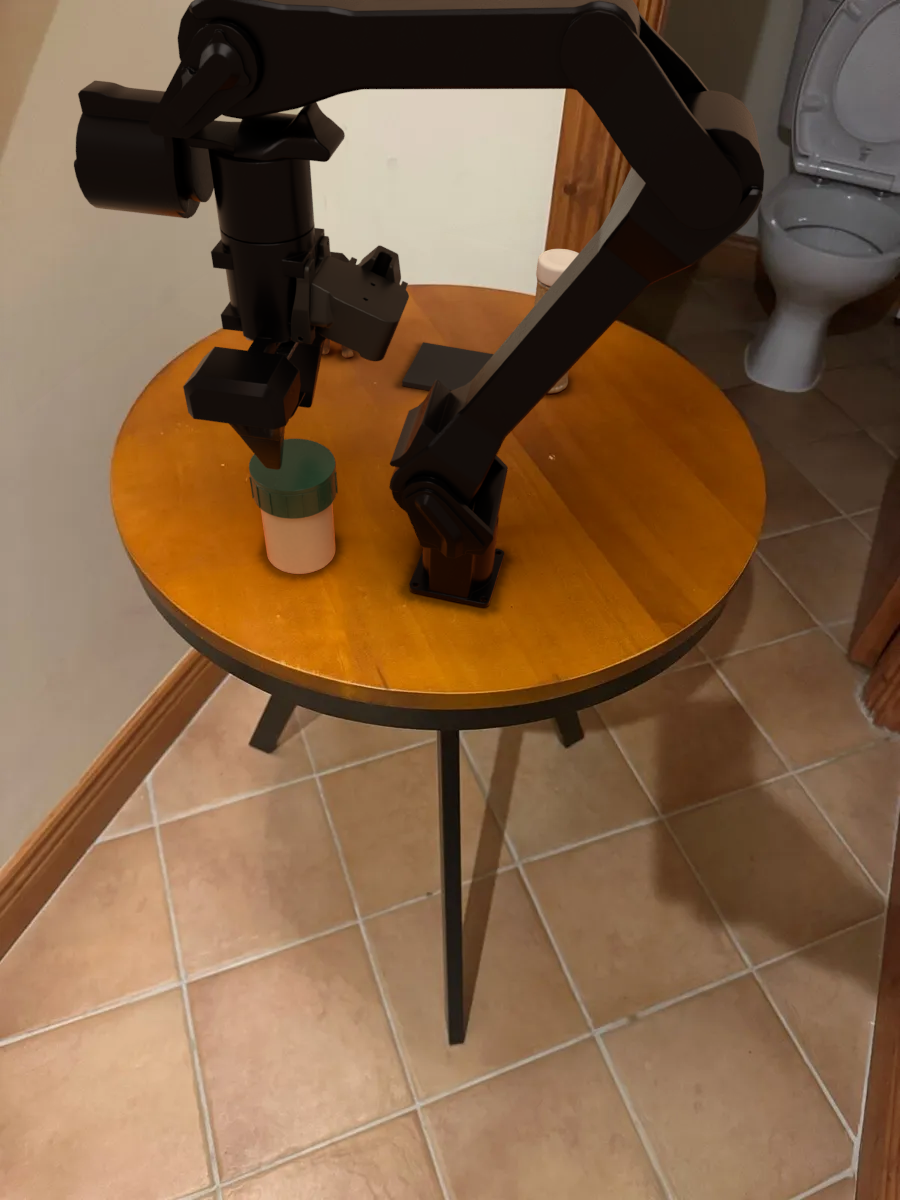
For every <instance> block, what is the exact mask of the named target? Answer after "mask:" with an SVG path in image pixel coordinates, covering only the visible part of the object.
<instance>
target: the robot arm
mask: <svg viewBox="0 0 900 1200" xmlns="http://www.w3.org/2000/svg"><path fill="white" fill-rule="evenodd" d="M179 22H180V23H179V27H178V32H177V33H178V34H177V48H178V57H179V61H180V62H179V65H178V66H177V68H176V70H175V72H174V74H173V76H172V77H171V80H170V82H169V84H168V85H167V87H166V90H164V91H163V90H156V89H155V90H153V89H144V88H134V87H128V86H124V85H122V84H119V83H116V82H112V81H104V80H93V81H92V82H91V83H89V84H88V85H86V86H85V87H83V88H82V89H80V90H79V91H78V93H77V96H78V100H79V105H80V109H81V115H80V117H79V121H78V124H77V129H76V134H75V135H76V136H75V156H76V157H75V159H74V161H73V169H74V173H75V177H76V181H77V184H78V187H79V189H80V191H81V193H82V195H83V197H84V198H85V200H86V201H87V202H88V203H89V205H90V206H93V207H94V208H96V209H102V210H110V211H118V212H119V211H120V212H127V213H135V214H136V213H138V214H146V215H153V216H154V215H155V216H161V217H170V218H179V219H190V218H192V217H194V215H195V214H196V213H197V211H198V209H199V207H200V205H201V203H207V202H208V201H210V199H211V197H212V195H213V192H214V200H215V206H216V212H217V219H218V227H219V233H220V240H219V241H218V242H217V244H216V245H215V246H214V247H213V248H212V250H211V251H210V255H211V262H212V267H213V269H221V270H225V274H226V282H227V287H228V294H229V295H228V296H229V302H228V304H227V305H226V306H225V308H224V309H223V311H222V312H221V313H220V320H221V326H222V330H227V331H234V332H235V331H236V332H241V333H242V336H243V337H244V338H245V340H246V341H249V342H251V344H250V346H249V347H248V349H247V350H245V349H237V348H231V347H222V346H214V347H213V348H212V349H211V350H209V352H208V353H207V354H205V355H204V356H203V357H202V359H201V360H200V362H199V363H198V364H197V365H196V367H195V368H194V370H193V372H192V373H191V374H190V376H189V378H188V379H187V380H186V381H185V382H184V384H183V386H182V389H183V393H184V398H185V403H186V408H187V413H188V414H189V415H190V416H191V418H192V419H193V420H200V421H207V422H213V423H214V422H215V423H222V424H228V425H229V426H230V427H231V428H232V429H233V430H234V431H235V433H236V434H237V435H238V436H239V437H240V438H241V439H242V441H243V442H244V444H245V445H246V446H247V447H248V449H250V450H251V452H252V453H253V455H254V454H255V455H256V457H257V458H258V459H259V460H260V461H261V463H262V464H263V465H264V466H265V467H266V468H269V469H276V470H279V469H280V468H281V466H282V458H283V448H284V439H285V430H286V426H287V425H288V423H289V421H290V419H292V418H293V417H294V416H295V414H296V412H297V410H298V409H299V407H300V408H306V409H310V408H312V405H313V404H314V398H315V392H316V387H317V383H318V377H319V373H320V367H321V362H322V357H323V354H322V352H323V347H324V343H325V339H326V338H327V339H329V340H330V342H334V343H336V344H337V345H340V346H341V347H342V346H345V347H347V348H349V349H351V350H352V351H354V352H356V353H358V355H359V356H360V358H363V359H365V360H367V361H370V362H380V361H383V360H384V358H385V357H386V354H387V353H388V350H389V348H390V345H391V343H392V340H393V337H394V336H395V333H396V331H397V328H398V325H399V323H400V320H401V319H402V316H403V313H404V311H405V308H406V306H407V303H408V301H409V298H410V295H409V292H408V290H407V288H408V286H409V283H408V282H406V281H404V280H402V273H401V265H400V256H399V254H398V252H396V251H393V250H391V249H390V248H387V247H385V246H383V245H377V246H376V247H375V248H374V249H372V250H371V251H369V252H368V253H367V254H366V255H365V256H364V257H363V258H362V259H361V261H359V263H357V262H358V258H355V257H353V256H351V257H350V259H349V258H348V257H347V256H346V255H345V254H344V253H343V252H338V251H331V244H330V243H331V242H330V237H329V236H328V235H326V233H325V228H321V227H319V228H318V227H315V214H314V213H315V212H314V199H313V186H312V185H313V184H312V183H313V182H312V171H311V162H319V163H320V162H321V163H326V162H329V160H330V159H331V158H332V157H333V155H334V153H335V152H336V151H337V149H338V148H339V147H340V145H341V144H342V142H343V141H344V139H345V138H346V137H345V136H346V135H345V132H344V131H345V130H343V128H341V126H339V125H338V124H337V123H336V122H334V120H333V119H332V118H330V117H328V115H326V114H325V113H324V111H322V109H321V108H320V106H319V104H318V102H321V101H324V100H327V99H330V98H332V97H336V96H339V95H342V94H347V93H352V92H357V91H361V90H574V91H577V93H578V94H579V95H580V96H581V97H582V98H583V99H584V101H585V102H586V103H587V104H588V105H589V106H590V107H591V109H592V110H593V112H594V113H595V114H596V116H597V117H598V119H599V121H600V122H601V124H602V125H603V127H604V128H605V130H606V131H607V133H608V134H609V136H610V137H611V139H612V140H613V142H614V143H615V145H616V146H617V148H618V150H619V151H620V152H621V154H622V156H623V157H624V158H625V160H626V161H627V163H628V164H629V165H630V167H631V168H630V170H629V172H628V174H627V175H626V178H625V180H624V182H623V184H622V186H621V188H620V190H619V192H618V194H617V196H616V198H615V200H614V202H613V204H612V206H611V208H610V210H609V212H608V215H606V218H605V220H604V222H603V224H602V225H601V226H600V228H599V229H598V230H597V231H596V232H595V234H594V235H593V236H592V238H591V239H589V241H588V242H587V243H586V245H585V246H583V248H581V250H580V252H578V253H579V254H578V255H577V256H576V258H575V259H574V260H573V261H572V262H571V264H570V265H569V266H568V267H567V268H566V269H565V271H564V272H563V273H562V274H561V275H560V277H559V278H558V279H557V280H556V281H555V282H554V284H553V285H552V286H551V287H550V288H549V290H548V291H547V292H546V293H545V294H544V296H543V297H542V298H541V299H540V300H539V301H538V303H537V304H536V305H535V306H534V305H533V307H532V308H531V309H530V311H528V313H527V314H526V315H525V317H523V319H522V320H521V321H520V322H519V323H518V324H517V326H516V327H515V328H514V329H513V331H512V332H511V333H510V335H508V336H507V338H506V339H505V341H504V342H502V343H501V345H500V346H499V348H498V349H497V350H496V351H495V352H494V353H493V354H494V355H493V356H492V357H491V358H490V359H489V361H488V362H487V363H486V364H485V365H484V366H483V368H482V369H481V370H480V371H479V372H478V374H477V375H476V376H475V377H474V378H473V379H472V380H471V381H470V382H469V383H468V384H466V385H465V386H462V387H460V388H457V389H455V390H453V391H449V390H448V389H447V388H446V387H445V386H444V385H443V384H442V383H441V382H440V381H439V380H435V382H434V384H433V385H432V387H431V389H430V391H428V393H427V394H426V397H425V398H424V400H423V401H422V402H421V403H419V404H418V405H417V406H416V407H415V406H414V408H411V409H409V410H408V411H407V415H406V417H405V420H404V423H403V425H402V429H401V430H400V433H399V436H398V440H397V442H396V445H395V448H394V450H393V453H392V456H391V459H390V461H389V465H390V467H394V469H393V472H392V476H391V478H390V480H389V486H388V487H389V488H388V489H389V490H390V492H391V495H392V498H393V500H394V501H395V502H396V504H397V505H398V508H400V509H401V510H403V511H404V512H405V513H406V514H407V517H408V519H409V521H410V524H411V526H412V529H413V531H414V533H415V535H416V537H417V540H418V542H419V544H420V546H421V547H422V553H420V554H421V555H420V556H419V559H418V562H417V564H416V567H415V569H414V572H413V574H412V576H411V579H410V582H409V585H408V586H409V587H408V588H409V591H410V593H413V594H414V593H415V594H418V595H422V596H426V597H427V596H428V597H432V598H437V599H441V600H446V601H451V602H456V603H460V604H466V605H471V606H475V607H479V608H486V607H488V606H489V605H490V603H491V600H492V597H493V594H494V591H495V587H496V584H497V582H498V577H499V575H500V572H501V568H502V566H503V565H502V564H503V563H504V558H505V551H504V550H503V549H501V548H497V537H498V529H499V519H500V517H499V514H500V508H501V503H502V499H503V496H504V490H505V485H506V480H507V475H508V470H509V468H508V465H507V464H506V463H505V462H504V460H502V459H501V458H500V457H499V456H498V455H497V454H498V453H499V451H500V449H501V446H502V445H503V443H504V441H505V440H506V438H507V437H508V436H509V434H511V433H512V432H513V430H514V429H515V428H516V427H518V425H519V424H520V423H521V422H522V421H523V420H524V419H525V418H526V417H527V415H528V414H529V413H530V412H531V411H532V410H533V409H534V408H535V407H536V406H537V405H538V404H539V403H540V402H541V400H542V399H543V398H545V396H546V395H547V394H549V393H548V392H549V391H550V390H551V389H552V388H553V387H554V385H555V384H556V383H557V382H558V381H559V380H560V379H561V378H562V377H563V376H564V375H565V374H566V373H567V372H568V371H570V370H571V369H572V368H573V366H575V364H577V362H579V360H580V359H581V358H582V357H583V356H584V355H585V354H586V353H587V352H588V351H589V350H590V348H592V347H593V345H594V344H595V343H596V342H597V341H598V340H599V339H600V338H601V337H602V336H603V335H604V334H605V333H606V332H607V330H608V329H609V328H610V327H611V326H612V325H613V324H614V323H615V322H616V321H617V320H618V319H619V318H620V317H621V316H622V314H623V313H624V312H625V311H626V310H627V309H628V308H629V307H630V306H631V305H632V304H633V302H635V301H636V300H637V299H638V298H639V296H640V295H642V294H643V292H644V291H645V290H647V289H648V288H649V287H651V286H652V285H653V284H656V283H657V282H660V281H662V280H664V279H665V278H668V277H670V276H672V275H674V274H677V273H679V272H681V271H683V270H686V269H688V268H690V267H692V266H694V265H695V264H696V263H698V262H699V261H700V260H701V259H703V258H704V257H706V256H707V255H709V254H710V253H711V252H712V251H714V250H715V249H716V248H717V247H719V246H720V245H722V244H723V243H724V242H726V241H727V240H728V239H730V238H731V237H733V236H734V235H735V234H736V233H738V232H739V231H740V230H741V229H742V228H743V227H744V226H745V225H747V224H748V222H749V221H750V219H751V218H752V217H753V215H754V214H755V212H756V211H757V210H758V208H759V205H760V203H761V201H762V199H763V192H764V182H765V168H764V162H763V158H762V152H761V146H760V141H759V137H758V136H759V135H758V130H757V127H756V124H755V120H754V117H753V114H752V113H751V112H750V110H749V109H748V108H747V106H746V105H745V104H744V102H743V101H742V100H740V99H738V98H736V97H735V96H733V95H732V94H730V93H728V92H723V91H719V90H713V89H712V90H710V89H709V88H708V87H707V85H705V83H704V82H703V81H702V80H701V78H700V77H699V76H698V74H697V73H696V72H695V71H694V70H693V68H692V67H691V66H690V65H689V63H688V62H687V61H686V60H685V58H683V57H682V56H681V55H680V54H679V53H678V52H677V51H676V50H675V49H674V48H673V47H672V46H671V45H670V44H669V42H667V41H666V40H665V39H664V38H663V37H662V35H660V34H659V33H658V32H657V31H656V30H655V29H654V28H653V27H652V26H651V25H650V23H649V22H648V20H646V18H645V17H644V16H643V14H641V12H640V11H639V9H638V6H637V4H636V3H635V1H634V0H192V1H191V2H190V4H188V7H187V8H186V10H185V11H184V14H182V17H181V19H180V21H179ZM297 109H300V110H299V111H298V113H297V114H295V113H285V112H288V111H293V110H297ZM221 116H224V117H228V118H231V119H233V118H234V119H237V120H239V119H240V121H227V120H226V121H225V120H217V119H218V118H220V117H221ZM568 373H569V372H568Z"/></svg>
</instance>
